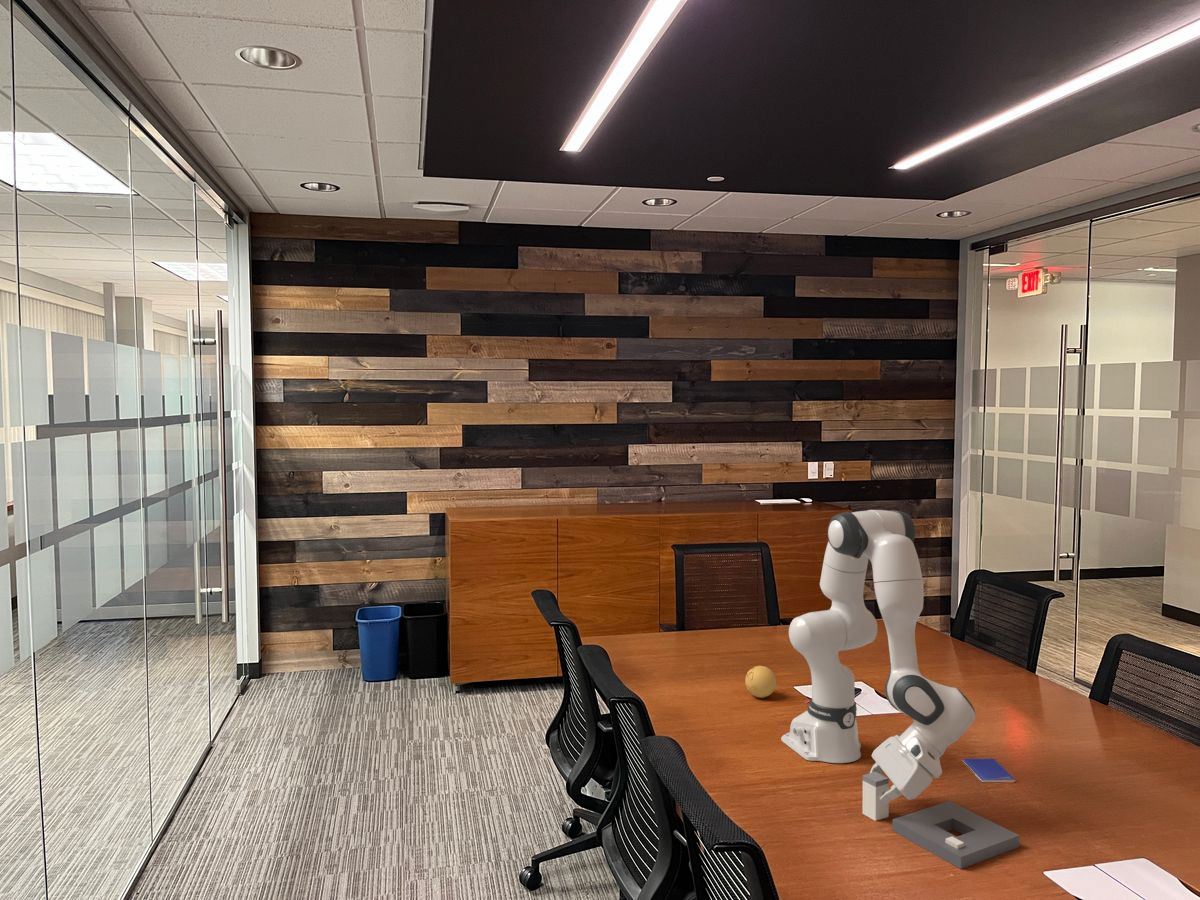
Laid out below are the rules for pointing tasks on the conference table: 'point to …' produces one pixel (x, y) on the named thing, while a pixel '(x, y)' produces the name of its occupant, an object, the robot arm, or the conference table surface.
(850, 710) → the robot arm
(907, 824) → the socket plate
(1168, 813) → the conference table surface
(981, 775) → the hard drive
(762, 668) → the stress ball
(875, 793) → the plug
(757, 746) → the conference table surface
